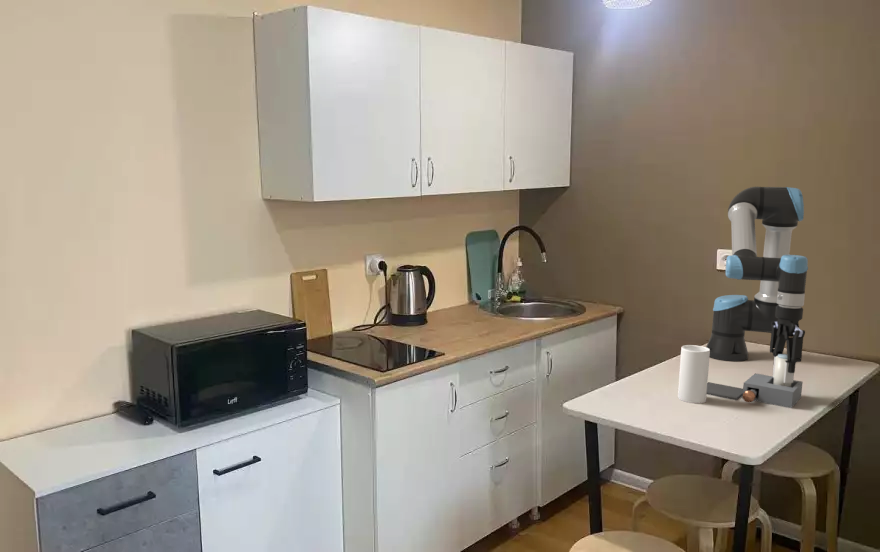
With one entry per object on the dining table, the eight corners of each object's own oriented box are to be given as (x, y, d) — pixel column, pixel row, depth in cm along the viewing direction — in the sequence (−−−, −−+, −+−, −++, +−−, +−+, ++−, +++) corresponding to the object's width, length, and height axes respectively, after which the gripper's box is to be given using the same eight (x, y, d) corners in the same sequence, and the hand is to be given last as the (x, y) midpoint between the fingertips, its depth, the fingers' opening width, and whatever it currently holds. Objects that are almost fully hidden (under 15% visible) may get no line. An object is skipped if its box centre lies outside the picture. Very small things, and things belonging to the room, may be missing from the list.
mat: (708, 383, 238) (708, 382, 238) (746, 391, 231) (746, 389, 231) (696, 392, 229) (696, 390, 228) (736, 400, 221) (736, 398, 221)
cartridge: (774, 394, 228) (778, 352, 226) (791, 397, 225) (795, 355, 223) (770, 398, 224) (774, 355, 222) (787, 401, 221) (792, 358, 219)
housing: (753, 388, 234) (755, 373, 234) (801, 397, 226) (802, 381, 225) (742, 398, 223) (743, 382, 222) (791, 408, 215) (793, 392, 214)
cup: (702, 395, 225) (705, 345, 223) (709, 404, 217) (713, 352, 215) (675, 394, 226) (678, 344, 224) (681, 402, 218) (684, 350, 216)
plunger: (750, 393, 227) (751, 382, 226) (762, 395, 225) (763, 384, 224) (741, 401, 218) (742, 390, 218) (753, 403, 216) (754, 392, 216)
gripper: (761, 300, 228) (754, 371, 232) (796, 311, 211) (789, 388, 214) (783, 300, 230) (776, 371, 233) (820, 311, 212) (812, 388, 215)
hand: (782, 379), depth 224 cm, fingers closed on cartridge, 5 cm apart
